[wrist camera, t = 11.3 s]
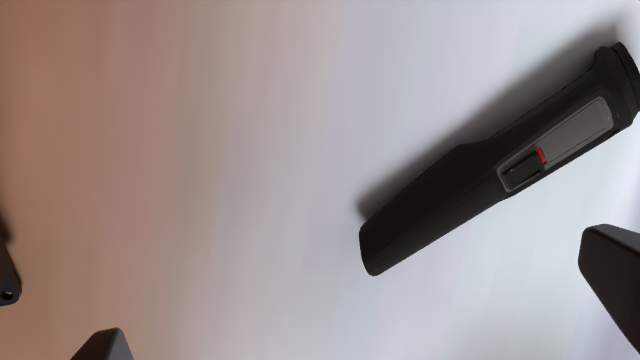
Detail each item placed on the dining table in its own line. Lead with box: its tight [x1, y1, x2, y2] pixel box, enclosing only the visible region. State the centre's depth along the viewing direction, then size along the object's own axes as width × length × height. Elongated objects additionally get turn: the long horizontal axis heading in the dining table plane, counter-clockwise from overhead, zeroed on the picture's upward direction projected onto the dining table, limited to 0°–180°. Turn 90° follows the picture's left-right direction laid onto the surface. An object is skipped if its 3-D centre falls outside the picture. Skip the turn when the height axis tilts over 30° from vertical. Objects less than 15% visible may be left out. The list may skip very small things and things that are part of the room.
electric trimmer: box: [359, 42, 640, 276], centre depth 23 cm, size 4×16×3 cm, turn 123°
